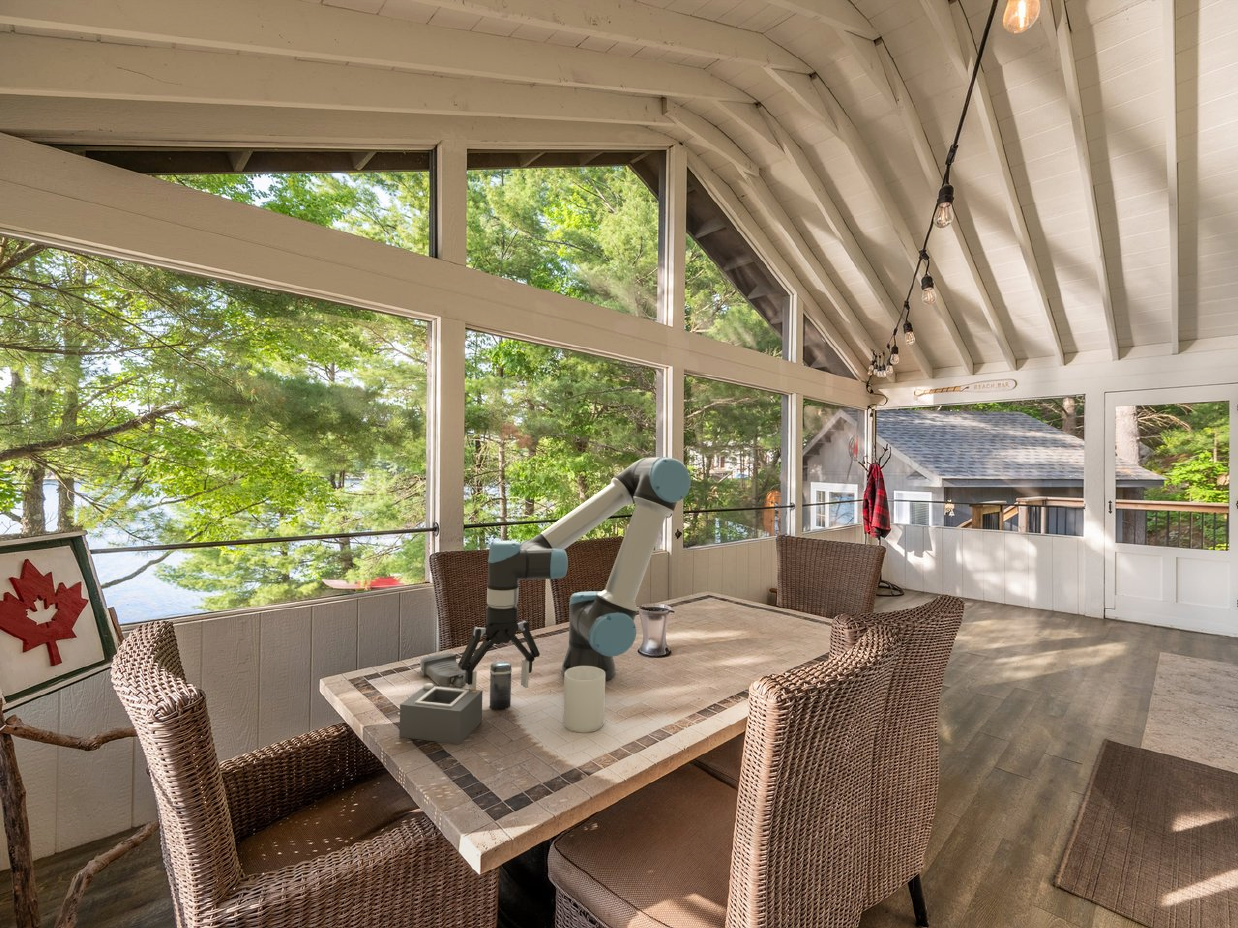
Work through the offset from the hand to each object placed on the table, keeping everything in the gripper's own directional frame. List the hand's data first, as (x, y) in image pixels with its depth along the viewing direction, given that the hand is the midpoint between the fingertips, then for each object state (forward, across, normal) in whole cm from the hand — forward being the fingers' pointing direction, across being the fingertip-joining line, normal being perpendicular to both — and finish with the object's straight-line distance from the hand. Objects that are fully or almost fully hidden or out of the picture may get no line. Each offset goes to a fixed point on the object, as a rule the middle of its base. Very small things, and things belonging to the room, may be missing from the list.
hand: (499, 691), depth 138 cm
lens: (+4, 0, 0) cm, 4 cm away
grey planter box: (+4, +15, +4) cm, 16 cm away
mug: (+4, -12, +18) cm, 22 cm away
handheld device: (+4, +5, -24) cm, 25 cm away
